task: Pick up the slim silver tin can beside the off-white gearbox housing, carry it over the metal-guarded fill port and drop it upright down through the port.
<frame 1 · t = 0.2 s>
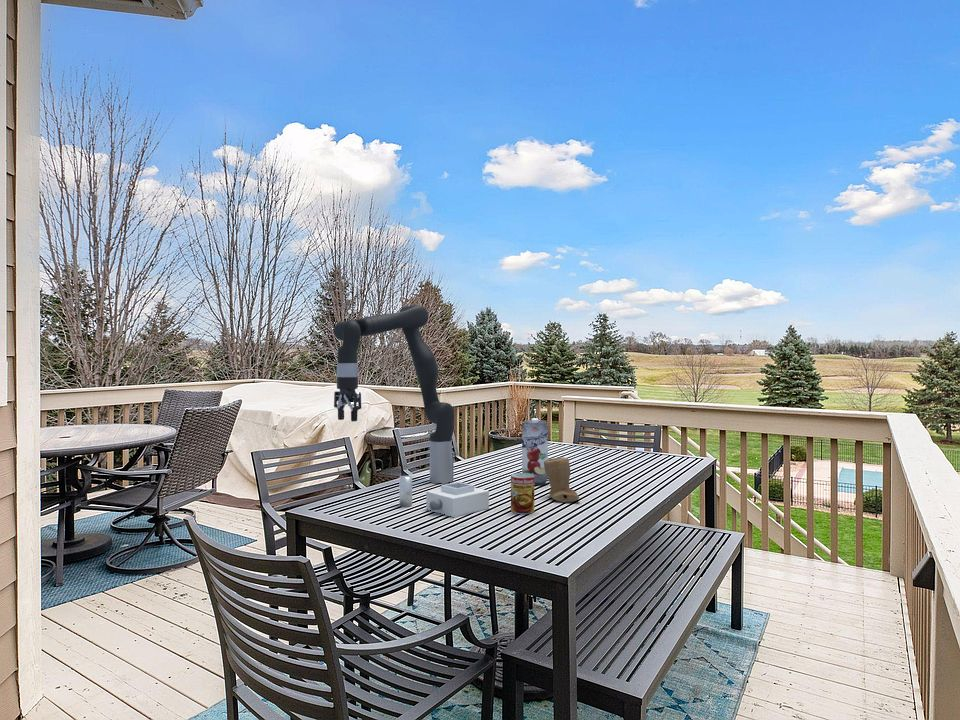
hand: (347, 420, 204), 29 cm above the table, tool pointing down, fingers open, 8 cm apart
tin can: (405, 505, 196), on the table
juice carton: (535, 484, 232), on the table
gearbox: (457, 508, 191), on the table
tan suede boot: (560, 499, 206), on the table
canned food: (522, 511, 189), on the table
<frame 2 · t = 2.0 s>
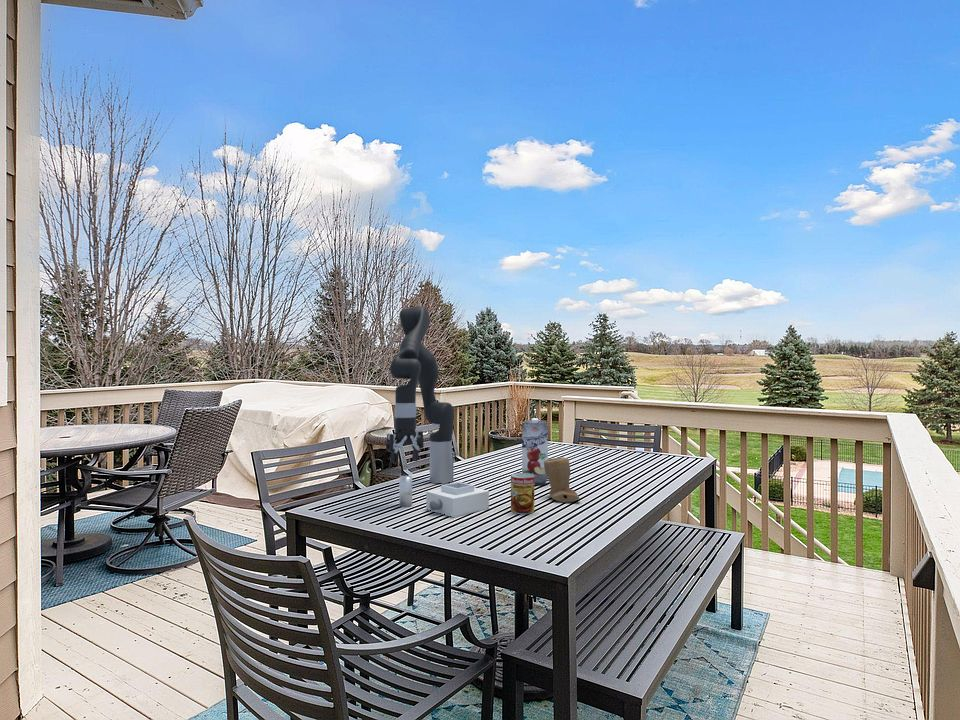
hand: (405, 462, 196), 15 cm above the table, tool pointing down, fingers open, 8 cm apart
nothing on the table moved.
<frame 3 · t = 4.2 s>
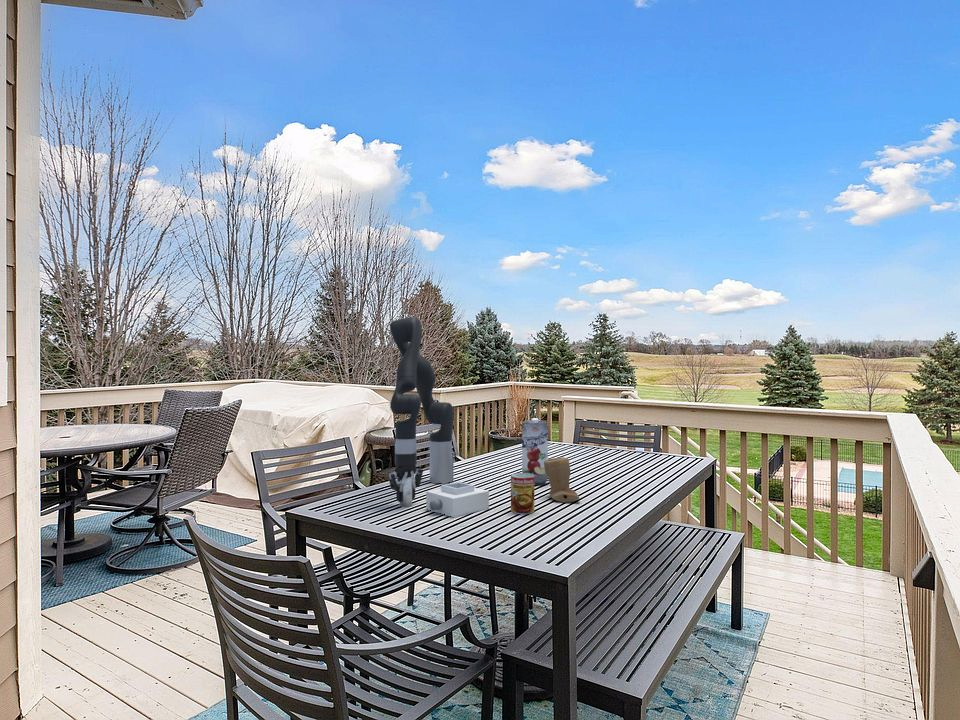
hand: (405, 500, 196), 2 cm above the table, tool pointing down, fingers closed on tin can, 4 cm apart
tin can: (405, 505, 196), on the table, touching gripper
everything else where it was.
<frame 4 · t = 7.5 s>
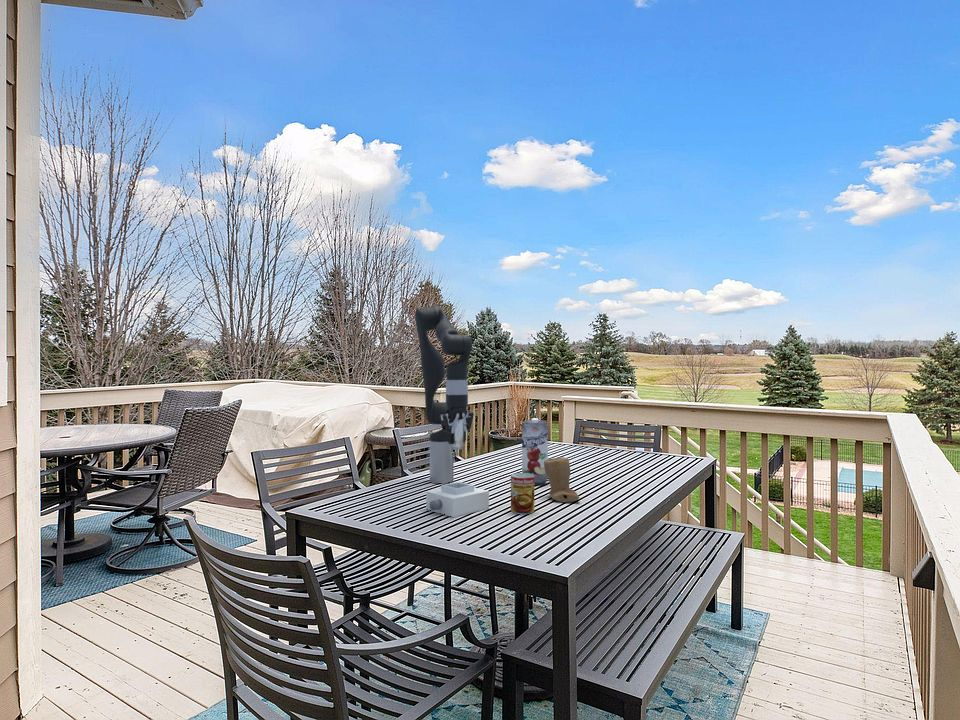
hand: (456, 443, 192), 22 cm above the table, tool pointing down, fingers closed on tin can, 4 cm apart
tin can: (456, 448, 192), point 20 cm above the table, touching gripper
everything else where it was.
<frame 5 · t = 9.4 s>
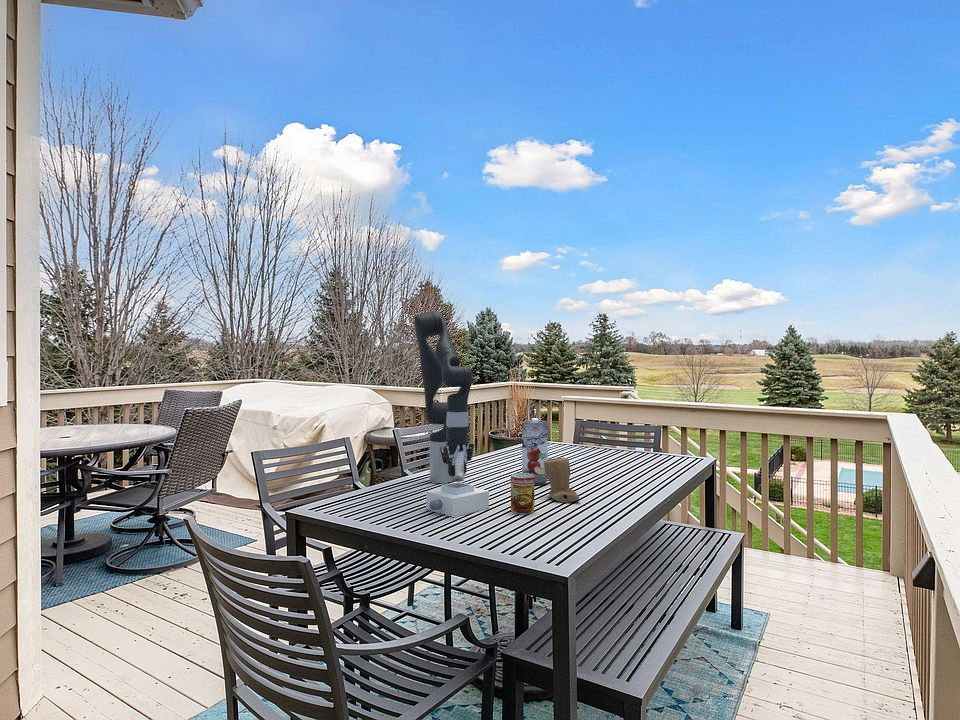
hand: (457, 474, 191), 12 cm above the table, tool pointing down, fingers closed on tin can, 4 cm apart
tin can: (457, 480, 191), point 10 cm above the table, touching gripper
everything else where it was.
when the fingers open (10 cm above the table, at t = 10.8 s): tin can drops 8 cm, resting in gearbox.
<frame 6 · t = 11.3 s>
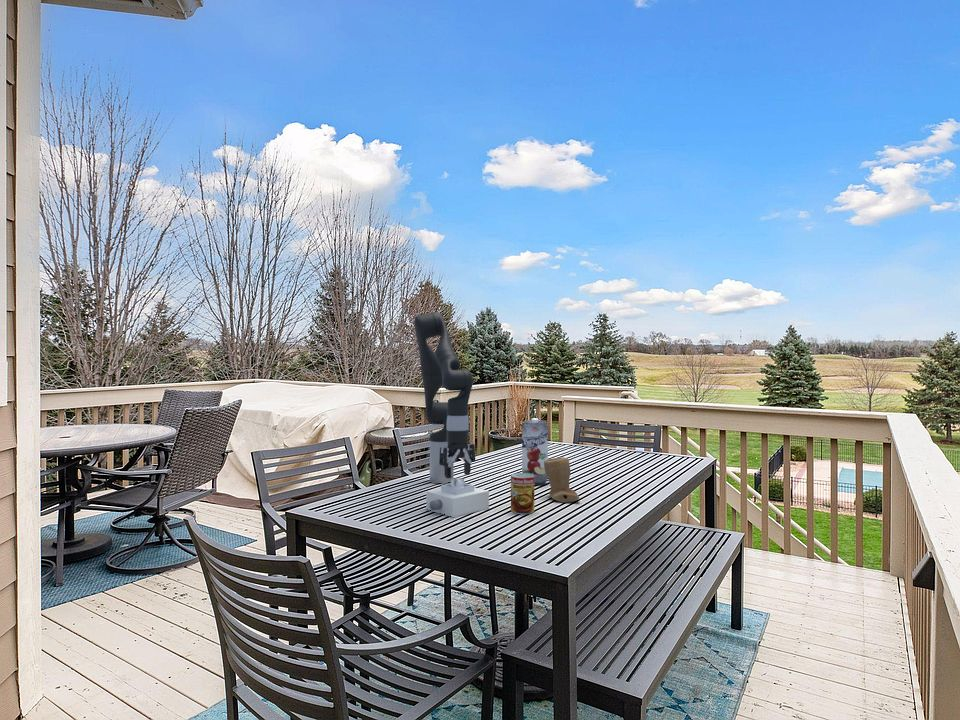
hand: (457, 476, 192), 11 cm above the table, tool pointing down, fingers open, 8 cm apart
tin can: (457, 508, 191), resting in gearbox
everything else where it was.
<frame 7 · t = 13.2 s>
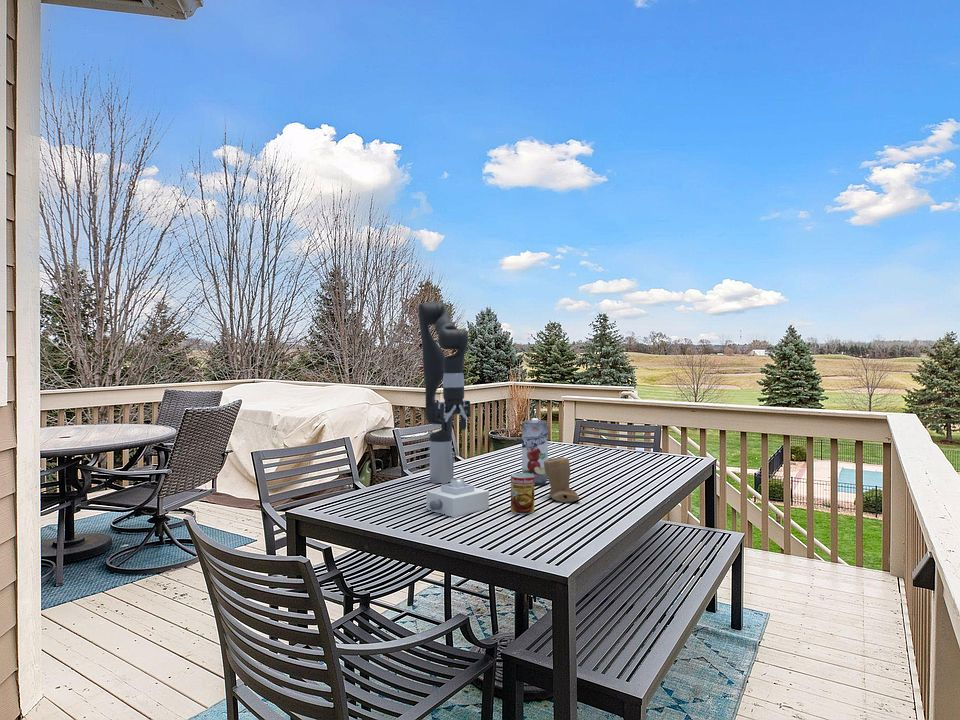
hand: (454, 431, 200), 25 cm above the table, tool pointing down, fingers open, 8 cm apart
nothing on the table moved.
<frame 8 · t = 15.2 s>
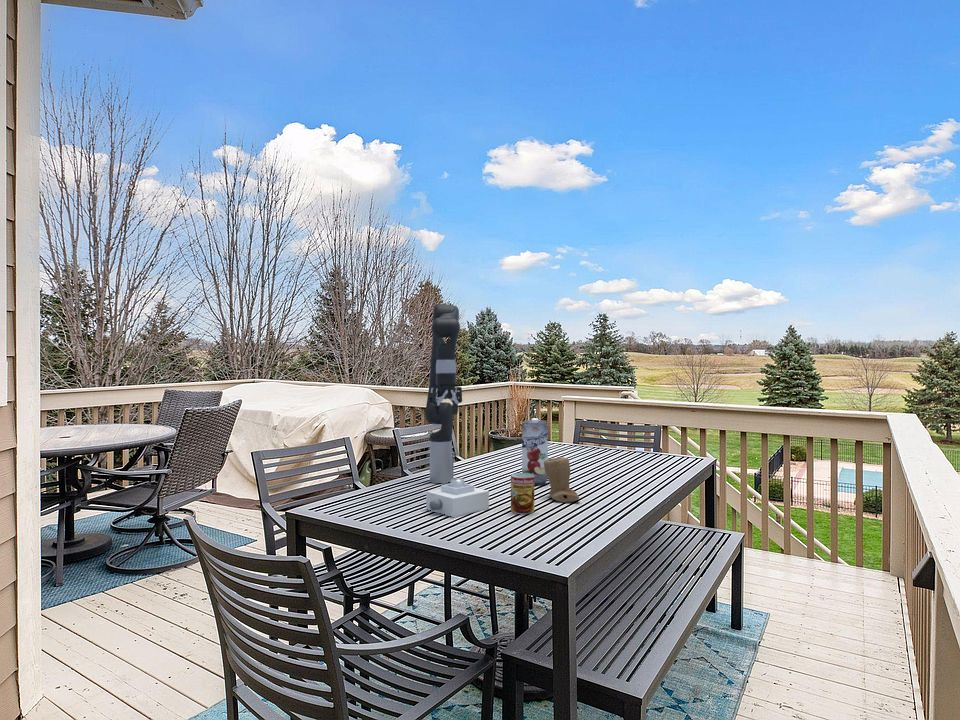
hand: (445, 415, 212), 30 cm above the table, tool pointing down, fingers open, 8 cm apart
nothing on the table moved.
at the end: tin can 0.0 cm off-centre on the gearbox, point 0.0 cm above the gearbox's base; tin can tilted 0°; the gripper is holding nothing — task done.
